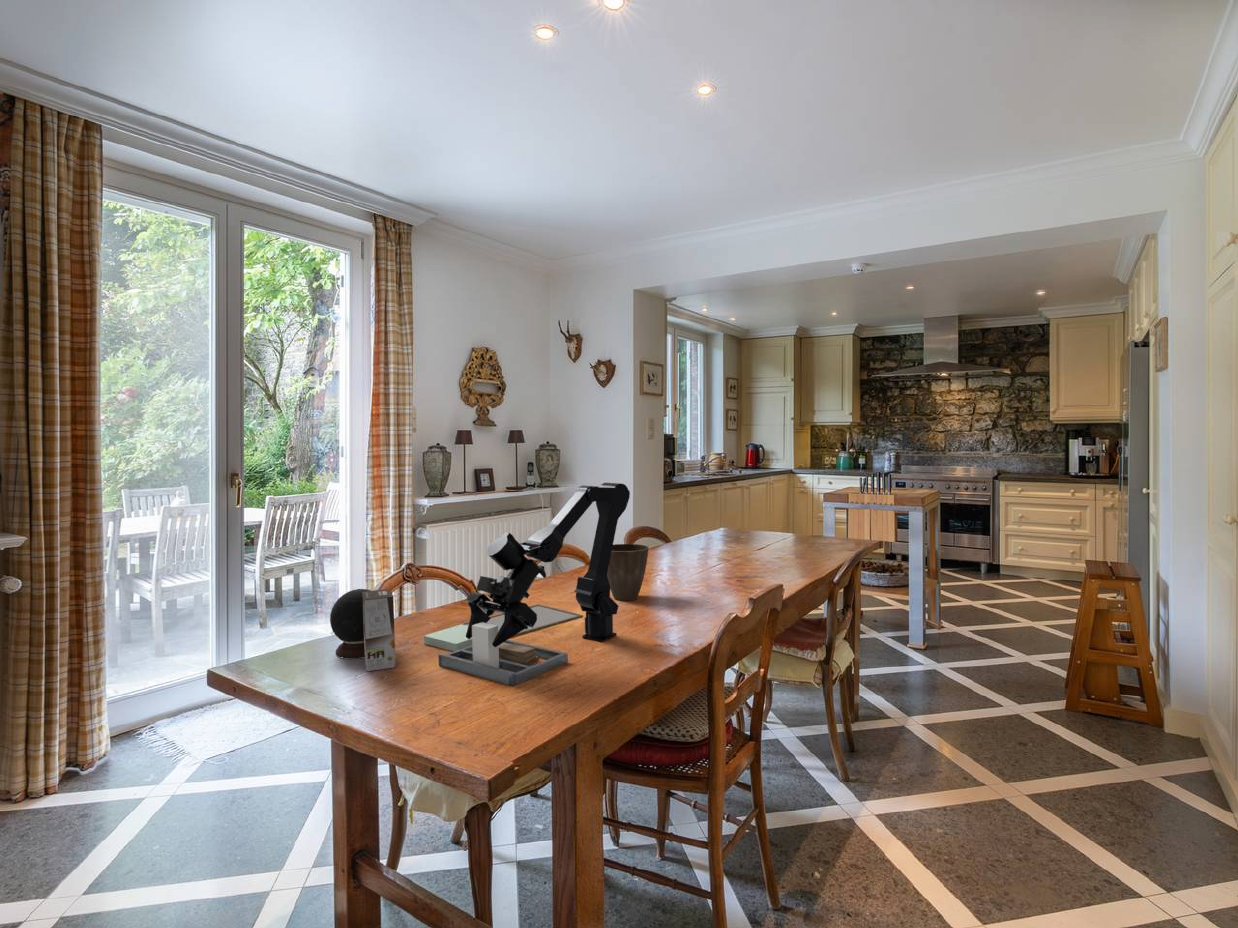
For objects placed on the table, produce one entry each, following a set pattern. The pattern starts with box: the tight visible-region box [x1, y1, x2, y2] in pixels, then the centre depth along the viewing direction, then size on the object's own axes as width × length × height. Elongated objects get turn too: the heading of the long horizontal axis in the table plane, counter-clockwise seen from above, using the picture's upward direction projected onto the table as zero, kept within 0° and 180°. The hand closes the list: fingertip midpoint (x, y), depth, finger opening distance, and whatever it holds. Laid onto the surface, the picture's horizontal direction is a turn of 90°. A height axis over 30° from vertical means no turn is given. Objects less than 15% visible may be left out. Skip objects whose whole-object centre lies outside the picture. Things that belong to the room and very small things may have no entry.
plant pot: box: [607, 543, 649, 602], centre depth 210 cm, size 15×15×16 cm
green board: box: [423, 623, 472, 652], centre depth 168 cm, size 12×12×2 cm
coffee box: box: [363, 588, 396, 672], centre depth 152 cm, size 9×6×16 cm
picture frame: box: [458, 603, 584, 638], centre depth 186 cm, size 19×1×28 cm
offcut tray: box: [438, 639, 569, 687], centre depth 151 cm, size 23×18×2 cm
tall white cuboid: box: [472, 622, 499, 668], centre depth 147 cm, size 5×3×10 cm, turn 54°
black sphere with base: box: [329, 588, 372, 659], centre depth 162 cm, size 13×13×15 cm
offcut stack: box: [499, 642, 540, 666], centre depth 153 cm, size 12×5×4 cm, turn 62°
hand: (480, 641), depth 145 cm, fingers open, 9 cm apart
